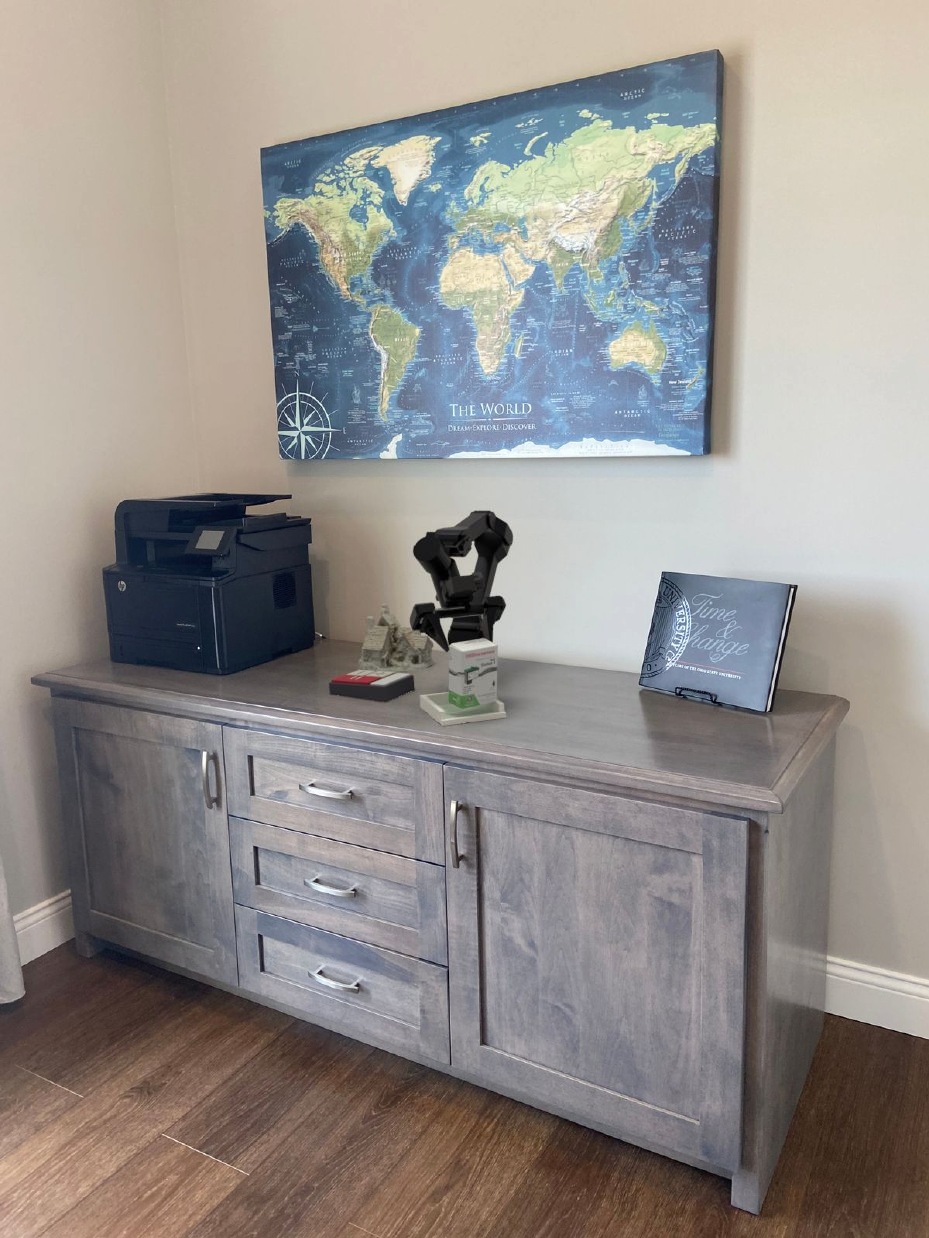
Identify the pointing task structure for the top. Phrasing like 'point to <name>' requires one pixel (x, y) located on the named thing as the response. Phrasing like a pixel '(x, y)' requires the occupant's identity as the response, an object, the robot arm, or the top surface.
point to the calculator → (372, 685)
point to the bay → (459, 710)
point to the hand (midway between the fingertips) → (469, 648)
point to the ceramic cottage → (393, 646)
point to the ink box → (473, 673)
